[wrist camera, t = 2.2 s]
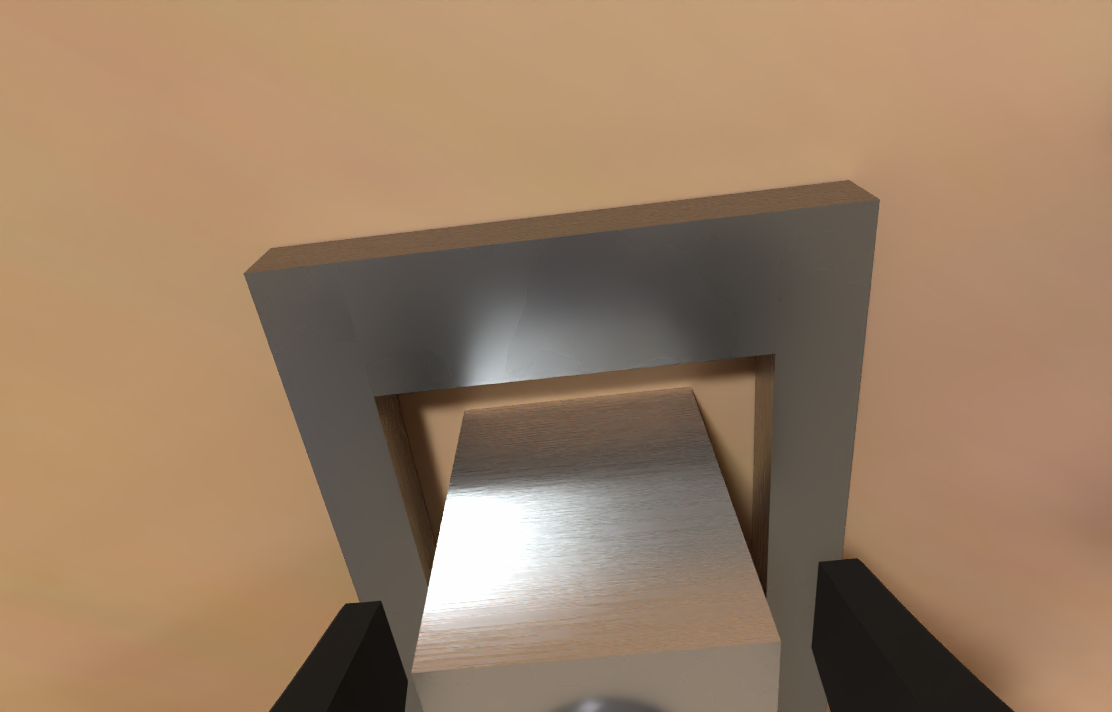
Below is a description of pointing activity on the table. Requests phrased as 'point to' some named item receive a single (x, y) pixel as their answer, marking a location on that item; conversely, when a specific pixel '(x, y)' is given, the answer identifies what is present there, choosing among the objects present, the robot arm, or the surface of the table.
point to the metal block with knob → (593, 567)
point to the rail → (584, 363)
